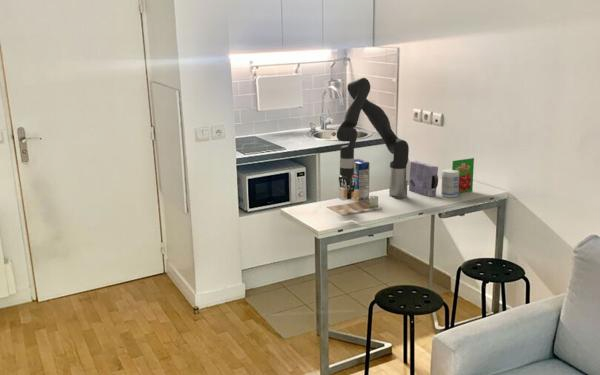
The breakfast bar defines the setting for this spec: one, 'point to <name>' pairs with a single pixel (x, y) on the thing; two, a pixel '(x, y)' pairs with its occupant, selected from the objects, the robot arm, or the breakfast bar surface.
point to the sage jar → (373, 201)
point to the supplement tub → (450, 183)
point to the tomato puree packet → (464, 174)
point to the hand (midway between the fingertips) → (346, 197)
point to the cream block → (345, 193)
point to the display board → (353, 208)
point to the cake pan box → (423, 178)
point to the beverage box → (361, 179)
